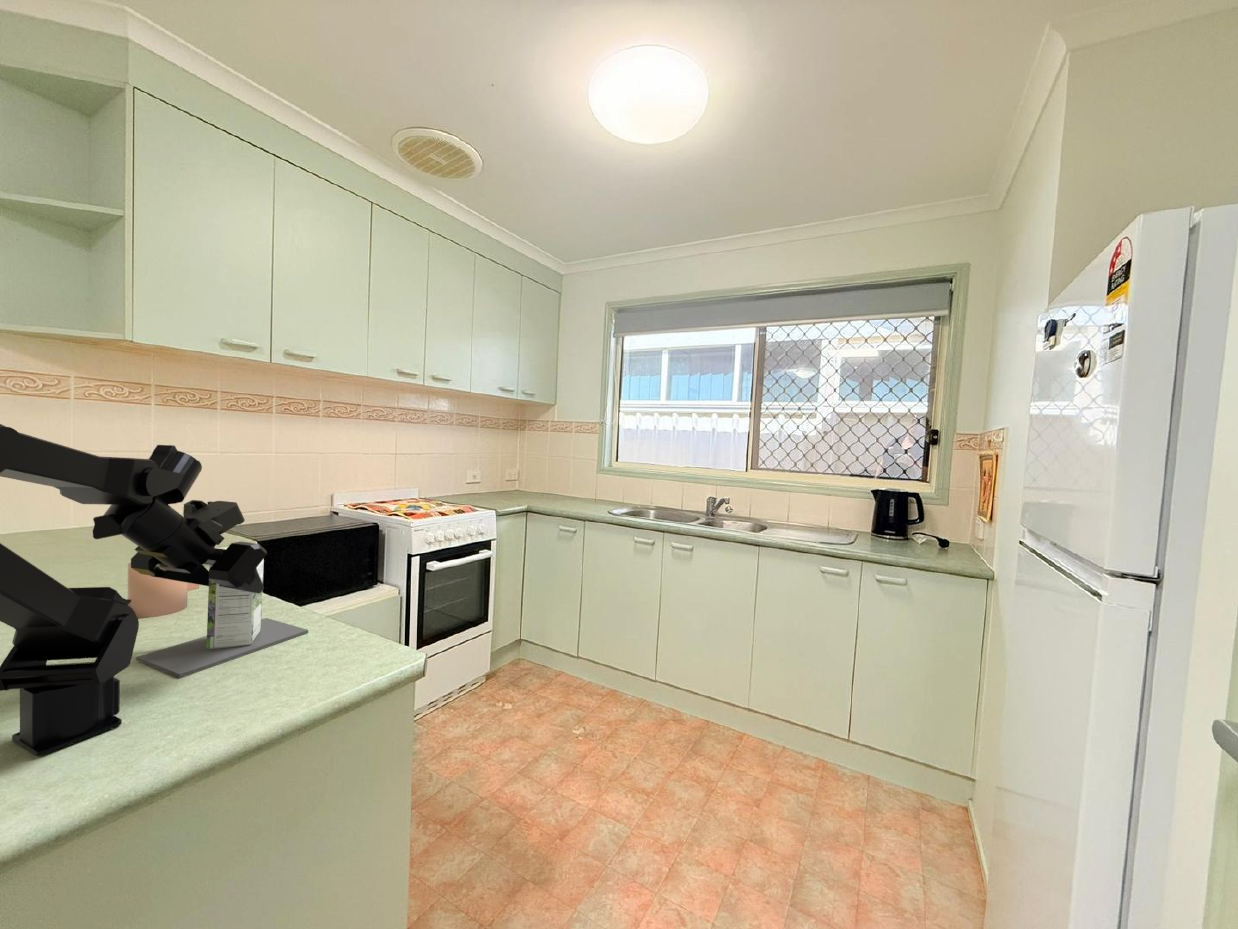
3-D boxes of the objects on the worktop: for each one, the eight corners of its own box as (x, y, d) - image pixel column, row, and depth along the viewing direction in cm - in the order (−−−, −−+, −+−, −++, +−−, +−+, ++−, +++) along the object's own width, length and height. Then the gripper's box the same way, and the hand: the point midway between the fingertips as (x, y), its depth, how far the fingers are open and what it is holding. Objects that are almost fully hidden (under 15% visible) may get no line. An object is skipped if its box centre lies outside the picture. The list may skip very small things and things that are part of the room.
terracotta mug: (142, 621, 84) (142, 569, 84) (117, 612, 87) (118, 563, 87) (209, 604, 93) (210, 558, 93) (185, 597, 96) (185, 552, 96)
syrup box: (218, 636, 79) (220, 547, 78) (262, 631, 81) (264, 545, 80) (205, 650, 73) (207, 555, 73) (253, 645, 76) (255, 553, 75)
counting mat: (179, 678, 66) (180, 674, 66) (135, 660, 70) (135, 656, 70) (308, 632, 83) (308, 630, 83) (266, 620, 87) (266, 618, 87)
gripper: (256, 489, 69) (317, 550, 80) (155, 480, 73) (227, 539, 84) (196, 556, 62) (273, 612, 73) (87, 542, 66) (176, 597, 77)
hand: (237, 587), depth 77 cm, fingers open, 9 cm apart
